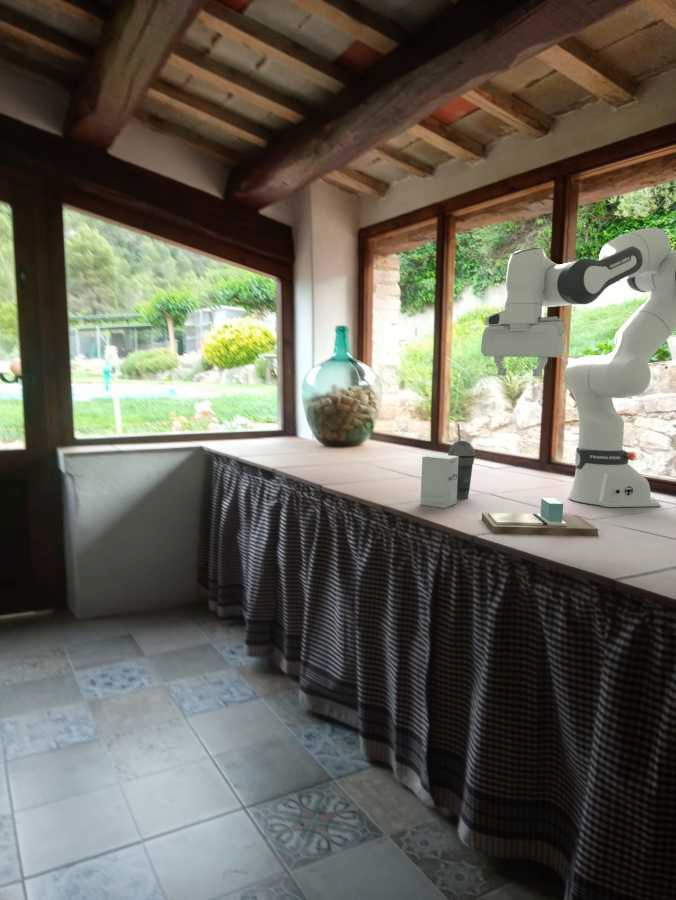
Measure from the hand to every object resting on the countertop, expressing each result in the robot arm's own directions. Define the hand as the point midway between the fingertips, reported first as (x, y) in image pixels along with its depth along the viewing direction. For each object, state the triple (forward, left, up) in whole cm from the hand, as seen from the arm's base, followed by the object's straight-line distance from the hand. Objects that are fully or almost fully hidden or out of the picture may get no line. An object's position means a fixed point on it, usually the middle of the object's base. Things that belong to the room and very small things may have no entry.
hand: (519, 376), depth 155 cm
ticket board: (-1, +16, -33) cm, 37 cm away
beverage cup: (+10, -16, -34) cm, 39 cm away
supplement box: (+17, -6, -34) cm, 38 cm away
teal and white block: (-5, +16, -32) cm, 36 cm away
